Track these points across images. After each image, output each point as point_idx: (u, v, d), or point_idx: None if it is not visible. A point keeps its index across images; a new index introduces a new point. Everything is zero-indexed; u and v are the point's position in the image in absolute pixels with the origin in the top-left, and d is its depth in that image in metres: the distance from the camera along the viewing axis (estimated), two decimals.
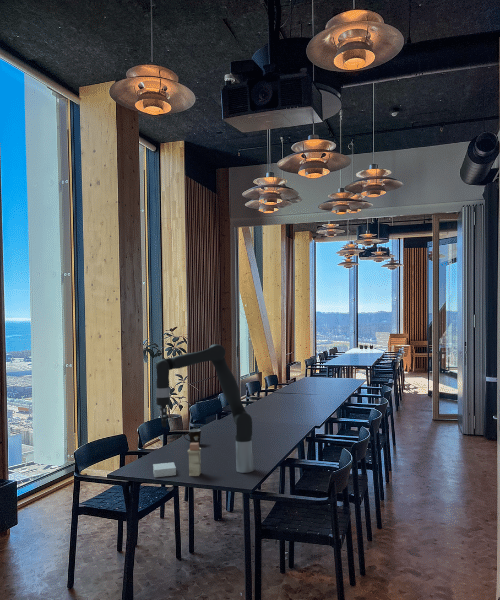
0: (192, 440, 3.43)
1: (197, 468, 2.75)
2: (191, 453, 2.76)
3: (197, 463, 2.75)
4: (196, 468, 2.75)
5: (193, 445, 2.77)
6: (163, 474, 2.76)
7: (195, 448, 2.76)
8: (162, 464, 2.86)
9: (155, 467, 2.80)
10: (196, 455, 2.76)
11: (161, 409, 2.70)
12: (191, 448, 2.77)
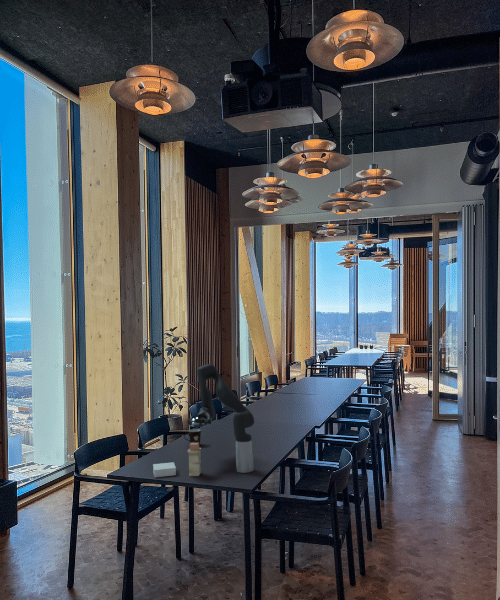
0: (192, 440, 3.43)
1: (197, 468, 2.75)
2: (191, 453, 2.76)
3: (197, 463, 2.75)
4: (196, 467, 2.75)
5: (193, 445, 2.77)
6: (163, 474, 2.76)
7: (195, 448, 2.76)
8: (162, 464, 2.86)
9: (155, 467, 2.80)
10: (196, 455, 2.76)
11: None
12: (191, 448, 2.77)
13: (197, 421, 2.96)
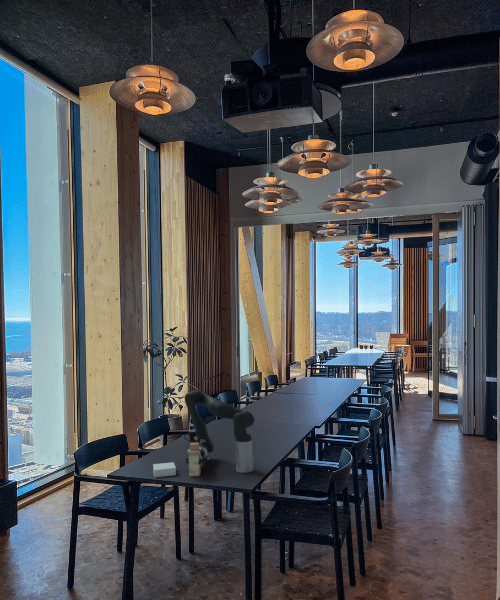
0: (192, 440, 3.43)
1: (197, 468, 2.75)
2: (191, 453, 2.76)
3: (197, 463, 2.75)
4: (196, 467, 2.75)
5: (193, 445, 2.77)
6: (163, 474, 2.76)
7: (195, 448, 2.76)
8: (162, 464, 2.86)
9: (155, 467, 2.80)
10: (196, 455, 2.76)
11: None
12: (191, 448, 2.77)
13: None
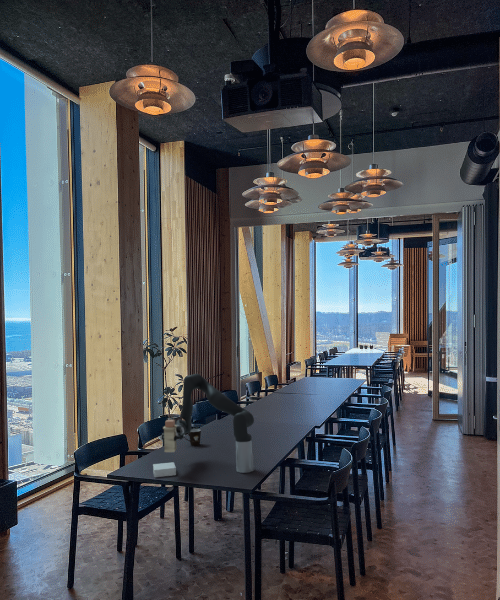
0: (192, 440, 3.43)
1: (172, 444, 2.79)
2: (166, 430, 2.80)
3: (172, 440, 2.79)
4: (171, 444, 2.79)
5: (168, 422, 2.81)
6: (163, 474, 2.76)
7: (170, 425, 2.80)
8: (162, 464, 2.86)
9: (155, 467, 2.80)
10: (171, 432, 2.80)
11: None
12: (166, 425, 2.81)
13: None
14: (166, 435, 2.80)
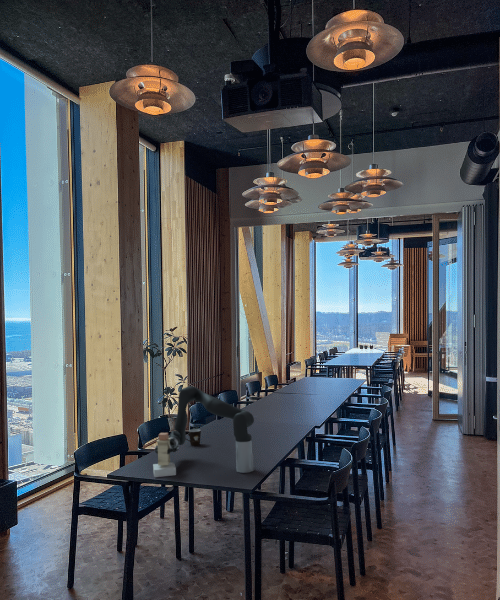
0: (192, 440, 3.43)
1: (166, 458, 2.80)
2: (160, 443, 2.80)
3: (166, 453, 2.80)
4: (165, 457, 2.80)
5: (162, 435, 2.81)
6: (163, 474, 2.76)
7: (164, 438, 2.81)
8: None
9: (155, 467, 2.80)
10: (165, 445, 2.80)
11: None
12: (160, 438, 2.81)
13: None
14: (159, 448, 2.80)
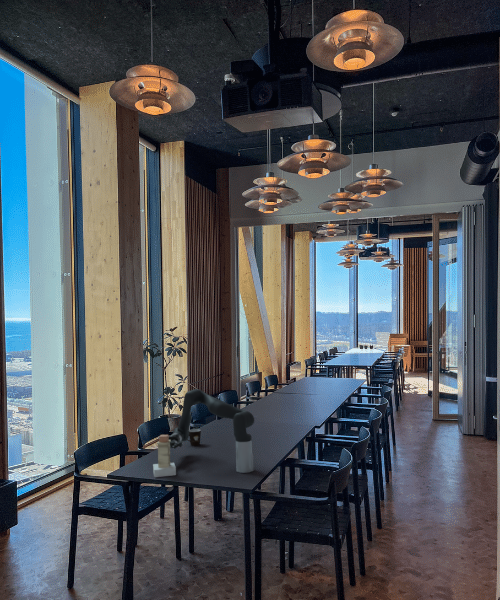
0: (192, 440, 3.43)
1: (166, 460, 2.80)
2: (160, 445, 2.80)
3: (166, 455, 2.80)
4: (165, 459, 2.80)
5: (162, 437, 2.81)
6: (163, 474, 2.76)
7: (164, 440, 2.81)
8: None
9: (155, 467, 2.80)
10: (165, 447, 2.80)
11: None
12: (160, 440, 2.81)
13: None
14: (160, 450, 2.80)
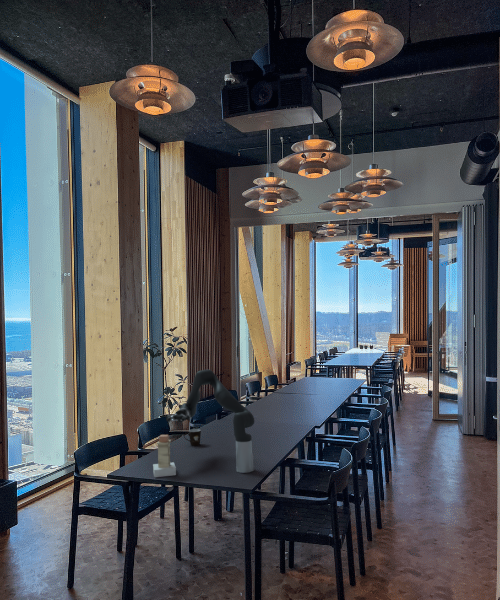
0: (192, 440, 3.43)
1: (166, 460, 2.80)
2: (160, 445, 2.80)
3: (166, 455, 2.80)
4: (165, 459, 2.80)
5: (162, 437, 2.81)
6: (163, 474, 2.76)
7: (164, 440, 2.81)
8: None
9: (155, 467, 2.80)
10: (165, 447, 2.80)
11: None
12: (160, 440, 2.81)
13: (176, 417, 3.00)
14: (160, 450, 2.80)
